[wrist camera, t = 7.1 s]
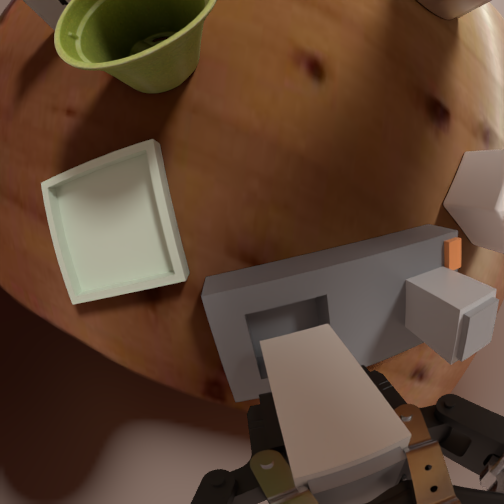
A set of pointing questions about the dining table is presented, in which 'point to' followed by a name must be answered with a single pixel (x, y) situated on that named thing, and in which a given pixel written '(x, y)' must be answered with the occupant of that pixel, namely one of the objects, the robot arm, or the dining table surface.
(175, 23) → the plant pot
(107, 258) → the tray
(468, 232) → the medicine bottle
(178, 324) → the dining table surface
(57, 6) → the electrical switch
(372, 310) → the grey peg socket block
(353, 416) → the plug
